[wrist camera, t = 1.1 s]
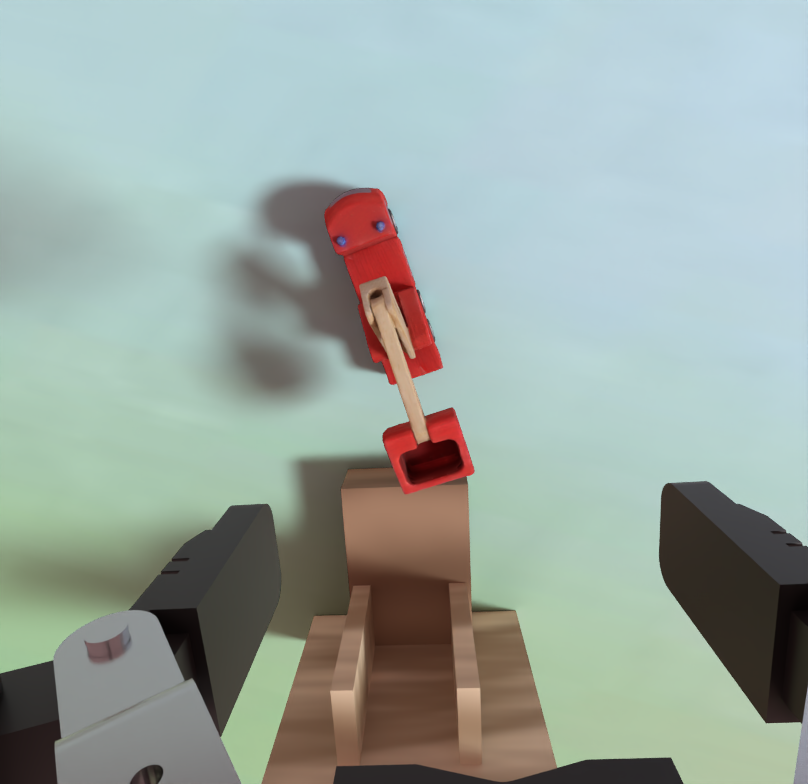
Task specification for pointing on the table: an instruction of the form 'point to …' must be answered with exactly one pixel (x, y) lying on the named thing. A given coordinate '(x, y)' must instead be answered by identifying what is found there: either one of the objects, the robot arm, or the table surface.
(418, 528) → the board
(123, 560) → the table surface
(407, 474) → the toy fire truck
